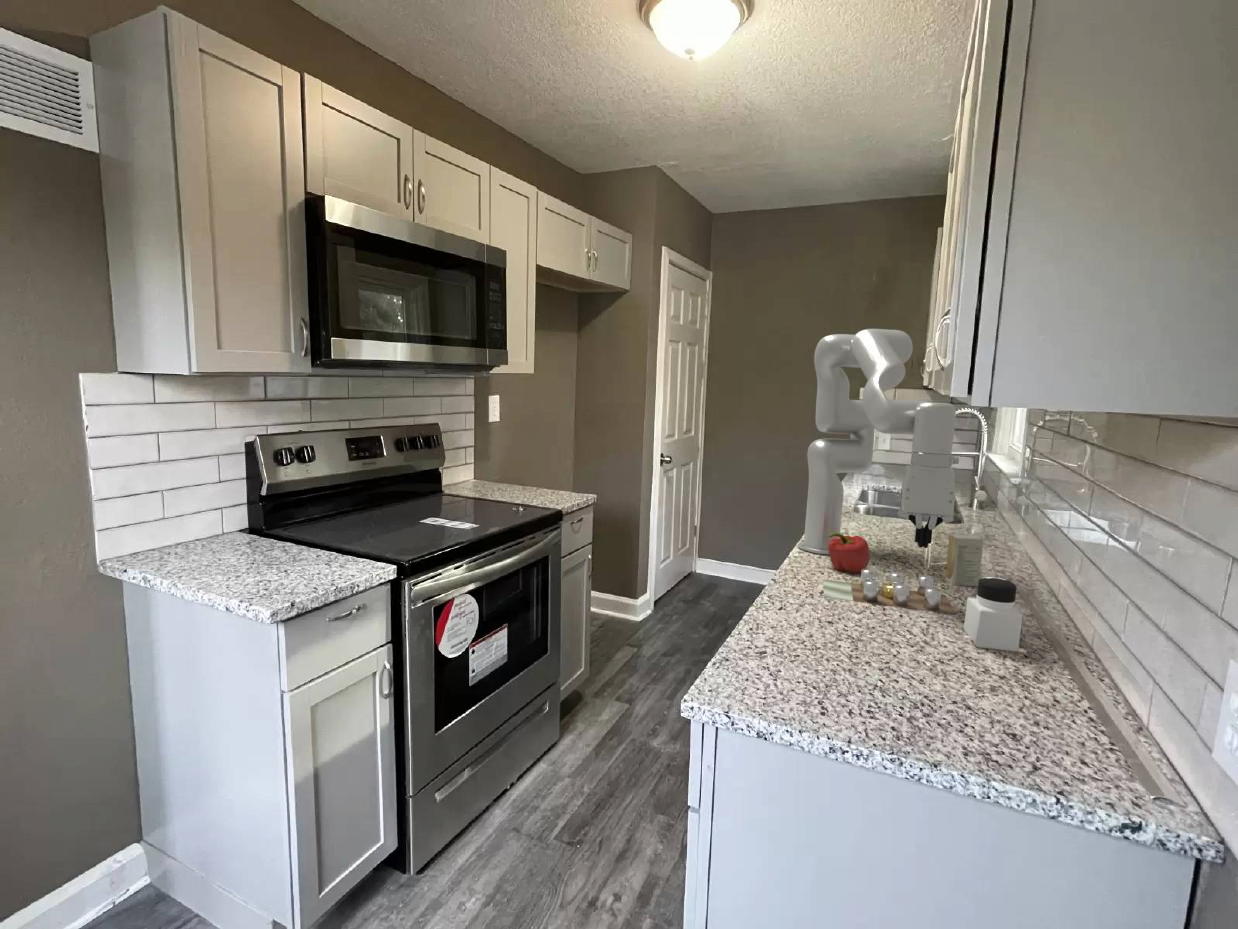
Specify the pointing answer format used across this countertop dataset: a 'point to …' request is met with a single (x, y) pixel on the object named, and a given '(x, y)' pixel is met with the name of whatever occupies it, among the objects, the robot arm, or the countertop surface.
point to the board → (879, 596)
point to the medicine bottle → (994, 616)
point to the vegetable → (848, 553)
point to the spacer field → (901, 589)
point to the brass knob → (888, 590)
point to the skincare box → (964, 559)
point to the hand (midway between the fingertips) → (922, 546)
